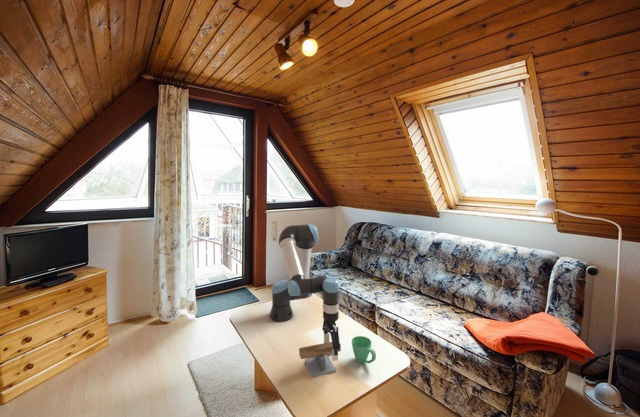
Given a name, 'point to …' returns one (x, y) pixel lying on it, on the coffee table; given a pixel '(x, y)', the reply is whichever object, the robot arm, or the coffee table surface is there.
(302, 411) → the coffee table surface
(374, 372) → the coffee table surface
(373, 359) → the mug
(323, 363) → the fulcrum
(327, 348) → the plank
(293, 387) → the coffee table surface
